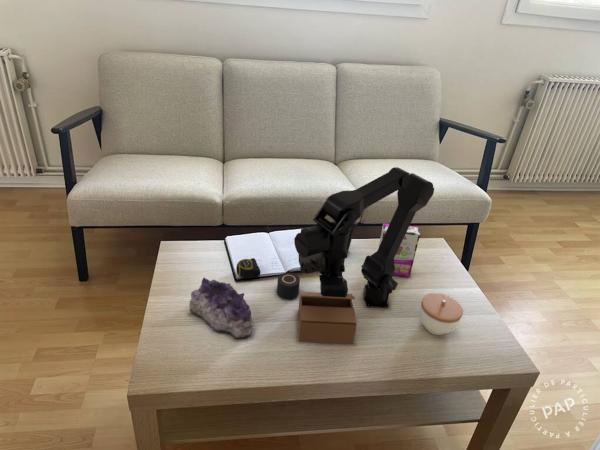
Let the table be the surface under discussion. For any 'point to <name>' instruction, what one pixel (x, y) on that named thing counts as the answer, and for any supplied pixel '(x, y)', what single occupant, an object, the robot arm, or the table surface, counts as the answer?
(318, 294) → the flap
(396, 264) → the candy bar box
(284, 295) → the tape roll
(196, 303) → the geode
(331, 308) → the carton
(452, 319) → the trinket box
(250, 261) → the tape measure
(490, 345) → the table surface
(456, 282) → the table surface
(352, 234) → the drinking cup
